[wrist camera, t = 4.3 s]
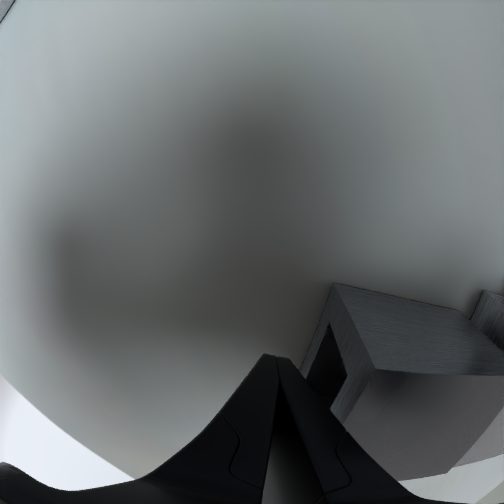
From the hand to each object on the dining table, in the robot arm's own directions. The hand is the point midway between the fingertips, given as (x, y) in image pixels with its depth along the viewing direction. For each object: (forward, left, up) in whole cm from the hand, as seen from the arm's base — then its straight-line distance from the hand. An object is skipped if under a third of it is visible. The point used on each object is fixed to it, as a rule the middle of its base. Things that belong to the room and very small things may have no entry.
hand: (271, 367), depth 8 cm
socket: (-5, 0, -2) cm, 5 cm away
